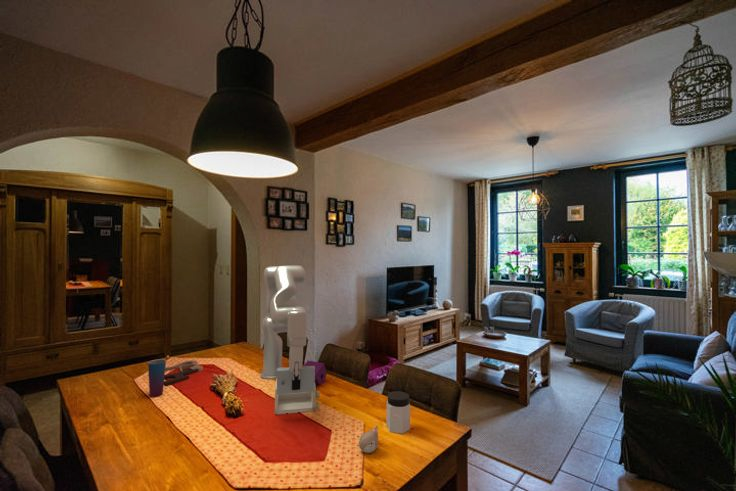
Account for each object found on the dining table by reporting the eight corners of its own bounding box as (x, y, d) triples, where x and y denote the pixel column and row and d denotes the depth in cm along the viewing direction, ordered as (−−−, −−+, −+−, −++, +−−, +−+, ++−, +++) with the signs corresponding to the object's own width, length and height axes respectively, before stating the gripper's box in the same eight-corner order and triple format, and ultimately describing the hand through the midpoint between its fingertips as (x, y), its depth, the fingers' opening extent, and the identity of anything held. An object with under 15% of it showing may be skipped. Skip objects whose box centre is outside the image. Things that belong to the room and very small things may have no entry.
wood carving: (165, 387, 162) (214, 374, 180) (165, 383, 162) (215, 370, 180) (147, 373, 180) (193, 363, 198) (147, 369, 180) (193, 359, 198)
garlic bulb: (376, 457, 107) (377, 432, 108) (357, 455, 108) (357, 430, 109) (379, 446, 114) (379, 422, 114) (360, 444, 115) (361, 420, 115)
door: (276, 390, 135) (277, 368, 135) (313, 388, 138) (314, 365, 138) (276, 395, 130) (277, 371, 130) (314, 392, 133) (315, 369, 134)
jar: (383, 431, 124) (384, 398, 124) (389, 420, 131) (389, 389, 132) (407, 435, 121) (408, 401, 121) (411, 424, 129) (412, 392, 129)
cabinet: (275, 401, 147) (276, 378, 147) (316, 398, 151) (317, 375, 151) (274, 416, 133) (275, 391, 134) (319, 412, 137) (320, 387, 138)
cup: (143, 396, 150) (144, 362, 150) (158, 391, 156) (159, 358, 157) (154, 399, 147) (155, 364, 148) (168, 393, 154) (169, 360, 154)
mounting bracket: (308, 405, 157) (327, 376, 173) (303, 391, 154) (324, 363, 170) (291, 401, 162) (311, 373, 177) (286, 387, 158) (307, 360, 174)
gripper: (287, 336, 142) (286, 380, 142) (287, 347, 126) (286, 396, 126) (305, 336, 144) (304, 379, 143) (307, 346, 128) (306, 395, 127)
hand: (295, 387), depth 135 cm, fingers closed on door, 3 cm apart
